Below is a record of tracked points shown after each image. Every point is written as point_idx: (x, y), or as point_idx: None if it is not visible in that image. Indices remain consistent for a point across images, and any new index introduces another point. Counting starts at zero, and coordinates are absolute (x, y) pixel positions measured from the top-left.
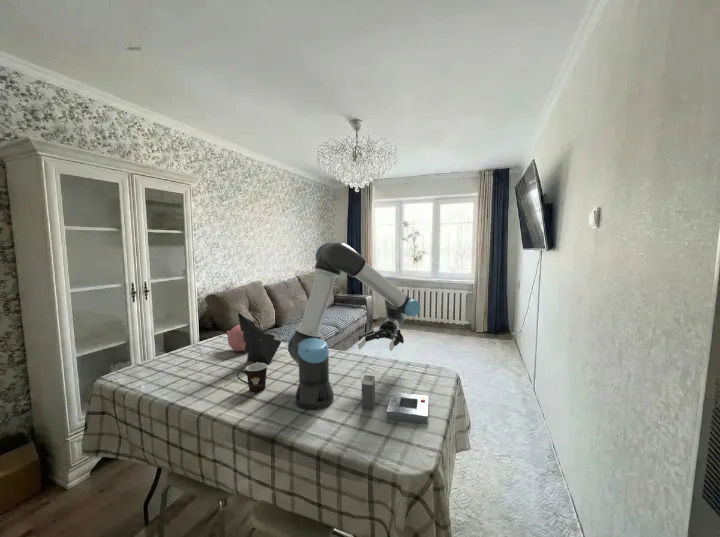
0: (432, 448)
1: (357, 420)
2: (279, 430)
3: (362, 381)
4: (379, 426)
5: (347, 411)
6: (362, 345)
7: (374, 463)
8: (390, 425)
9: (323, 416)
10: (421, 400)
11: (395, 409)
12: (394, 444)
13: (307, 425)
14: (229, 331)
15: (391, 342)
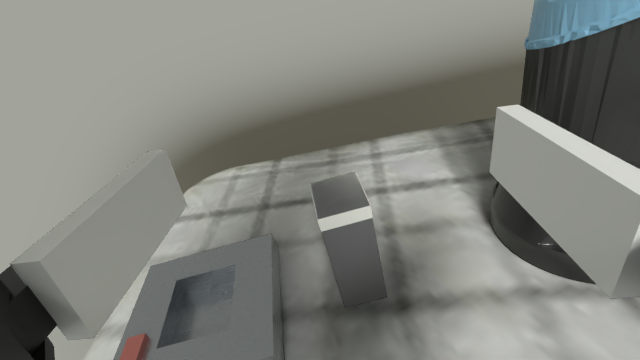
0: None
1: None
2: (490, 127)
3: (351, 173)
4: (290, 222)
5: (408, 229)
6: (525, 191)
7: (274, 161)
8: None
9: (452, 186)
10: (143, 335)
11: (245, 250)
12: (247, 199)
13: (453, 156)
14: None
15: (132, 168)
